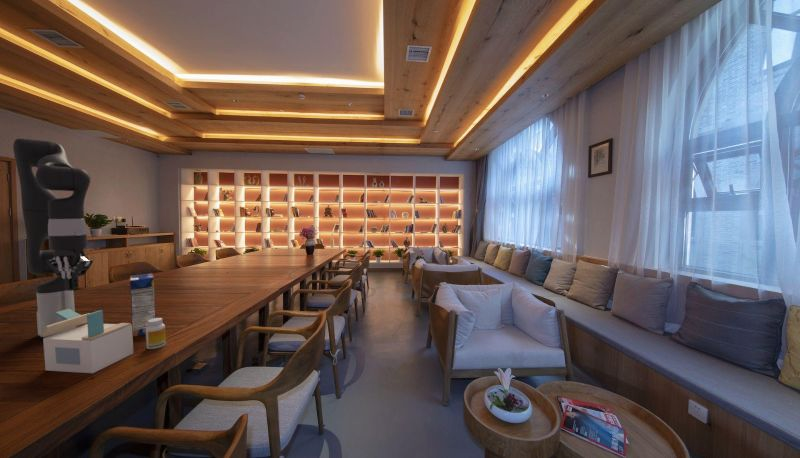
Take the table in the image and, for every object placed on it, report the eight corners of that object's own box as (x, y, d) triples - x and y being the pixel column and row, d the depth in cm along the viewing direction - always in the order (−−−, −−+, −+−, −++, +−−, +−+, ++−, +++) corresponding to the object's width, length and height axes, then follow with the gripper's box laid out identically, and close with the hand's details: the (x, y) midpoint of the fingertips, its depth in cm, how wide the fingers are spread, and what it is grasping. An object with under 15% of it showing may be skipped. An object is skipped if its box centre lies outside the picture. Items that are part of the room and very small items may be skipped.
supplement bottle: (169, 343, 104) (168, 318, 104) (152, 350, 99) (151, 323, 99) (159, 341, 106) (158, 316, 106) (142, 348, 101) (141, 321, 100)
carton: (45, 370, 87) (42, 338, 86) (91, 351, 99) (89, 323, 98) (92, 373, 85) (90, 341, 85) (133, 353, 97) (131, 324, 97)
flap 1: (90, 313, 97) (71, 303, 98) (47, 326, 86) (26, 315, 87) (87, 322, 98) (68, 312, 98) (43, 336, 87) (23, 325, 87)
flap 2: (81, 339, 85) (80, 314, 85) (121, 324, 97) (119, 302, 96) (92, 339, 85) (90, 315, 85) (130, 324, 96) (129, 302, 96)
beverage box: (133, 336, 110) (129, 280, 109) (133, 327, 118) (130, 275, 117) (156, 331, 115) (153, 277, 113) (155, 323, 123) (152, 273, 121)
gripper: (31, 234, 83) (36, 293, 84) (72, 235, 82) (76, 294, 83) (64, 232, 90) (68, 286, 91) (101, 233, 89) (105, 287, 90)
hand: (72, 290), depth 87 cm, fingers closed
